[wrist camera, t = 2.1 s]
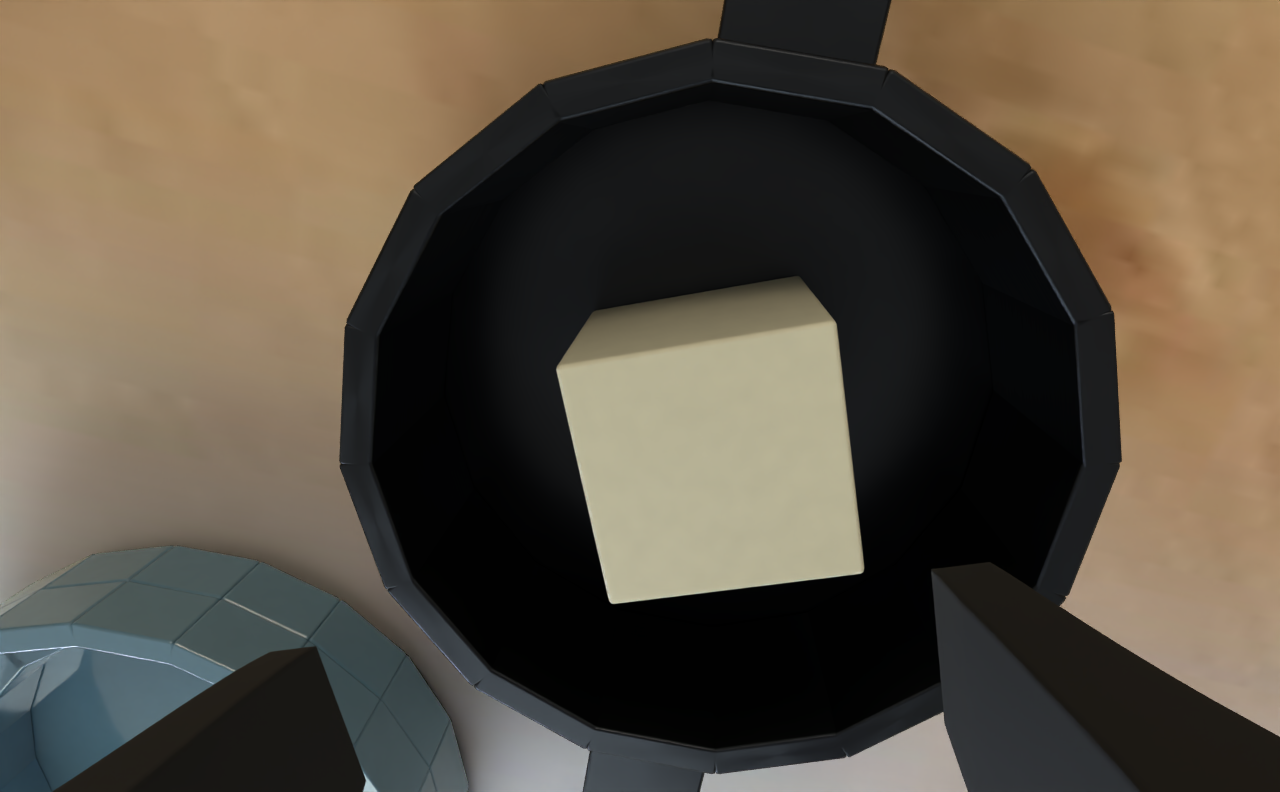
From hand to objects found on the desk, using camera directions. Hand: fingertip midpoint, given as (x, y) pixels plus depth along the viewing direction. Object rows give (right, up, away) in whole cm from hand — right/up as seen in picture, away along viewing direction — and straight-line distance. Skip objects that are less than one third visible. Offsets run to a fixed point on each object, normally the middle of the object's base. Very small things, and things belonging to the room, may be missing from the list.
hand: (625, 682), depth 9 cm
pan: (+2, +4, +8) cm, 9 cm away
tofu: (+2, +3, +8) cm, 9 cm away
